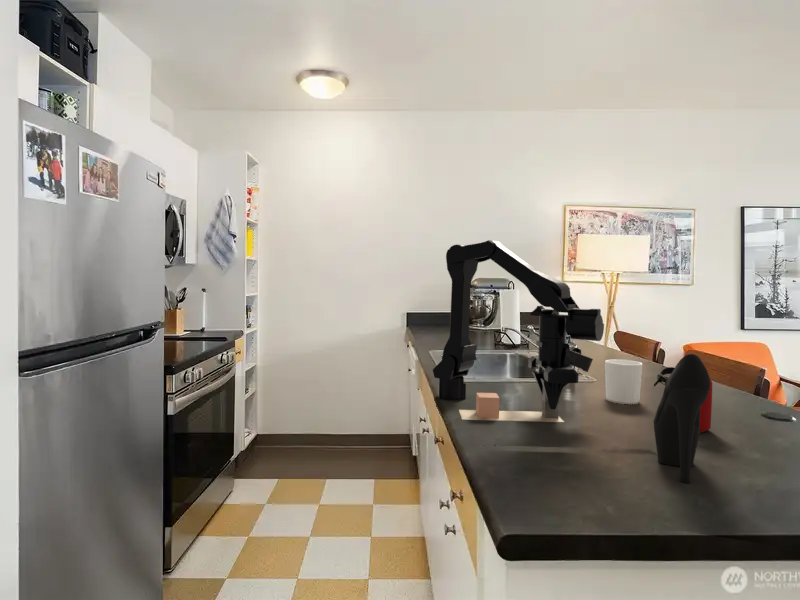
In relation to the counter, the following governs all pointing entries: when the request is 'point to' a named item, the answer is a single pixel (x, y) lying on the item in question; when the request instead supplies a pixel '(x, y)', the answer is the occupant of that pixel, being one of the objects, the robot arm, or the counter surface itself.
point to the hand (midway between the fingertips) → (550, 406)
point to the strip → (520, 414)
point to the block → (487, 405)
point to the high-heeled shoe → (681, 413)
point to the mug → (623, 381)
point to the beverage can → (706, 412)
